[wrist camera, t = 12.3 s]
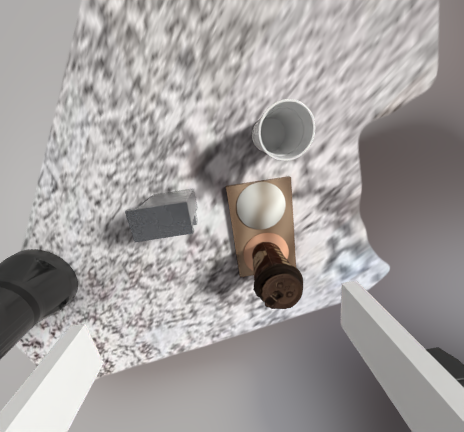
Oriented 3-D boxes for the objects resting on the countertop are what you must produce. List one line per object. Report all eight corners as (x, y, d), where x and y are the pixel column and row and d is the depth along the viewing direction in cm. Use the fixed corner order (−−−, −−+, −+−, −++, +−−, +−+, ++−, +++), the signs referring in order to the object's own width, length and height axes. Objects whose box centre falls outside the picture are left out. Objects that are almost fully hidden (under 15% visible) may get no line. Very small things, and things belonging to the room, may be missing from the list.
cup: (280, 161, 43) (302, 167, 32) (242, 149, 42) (251, 152, 31) (295, 119, 41) (324, 109, 29) (254, 105, 40) (269, 90, 28)
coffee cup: (246, 272, 49) (256, 316, 37) (244, 239, 46) (253, 273, 34) (285, 268, 49) (307, 310, 37) (284, 234, 46) (308, 267, 34)
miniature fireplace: (160, 226, 46) (139, 256, 34) (151, 192, 44) (124, 211, 31) (202, 220, 46) (196, 247, 34) (195, 185, 44) (186, 201, 31)
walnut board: (239, 274, 51) (240, 277, 49) (225, 186, 44) (226, 187, 43) (294, 265, 51) (296, 269, 49) (289, 176, 44) (291, 177, 43)
